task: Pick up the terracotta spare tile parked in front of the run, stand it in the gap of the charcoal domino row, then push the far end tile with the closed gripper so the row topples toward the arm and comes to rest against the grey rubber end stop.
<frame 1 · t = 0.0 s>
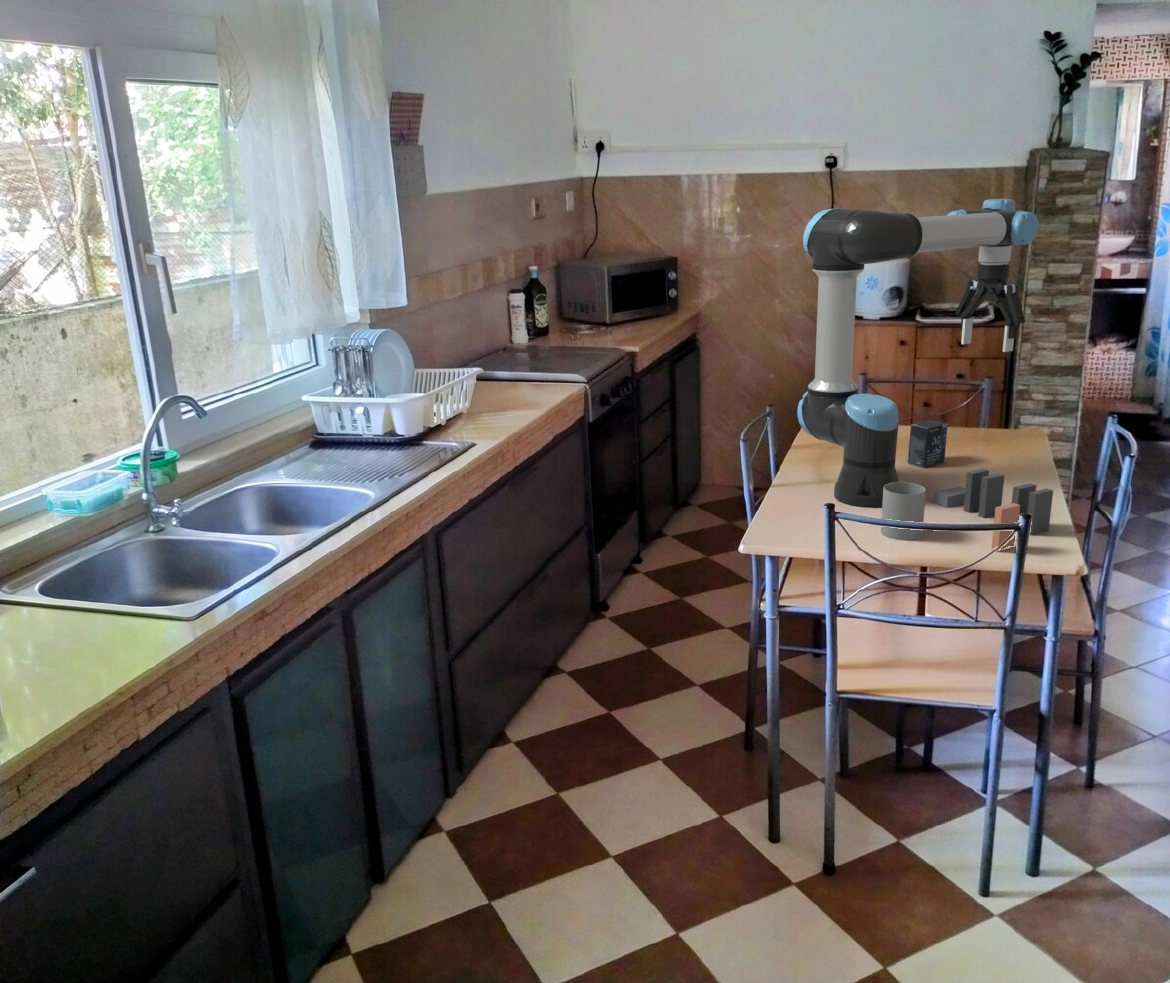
hand: (986, 347, 259), 28 cm above the table, fingers open, 13 cm apart
domino c: (989, 515, 221), on the table
domino b: (1020, 526, 214), on the table
domino a: (1036, 532, 211), on the table
cup: (901, 534, 213), on the table
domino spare: (1003, 548, 203), on the table
domino d: (974, 509, 225), on the table
end stop: (953, 501, 230), on the table
box: (926, 464, 260), on the table
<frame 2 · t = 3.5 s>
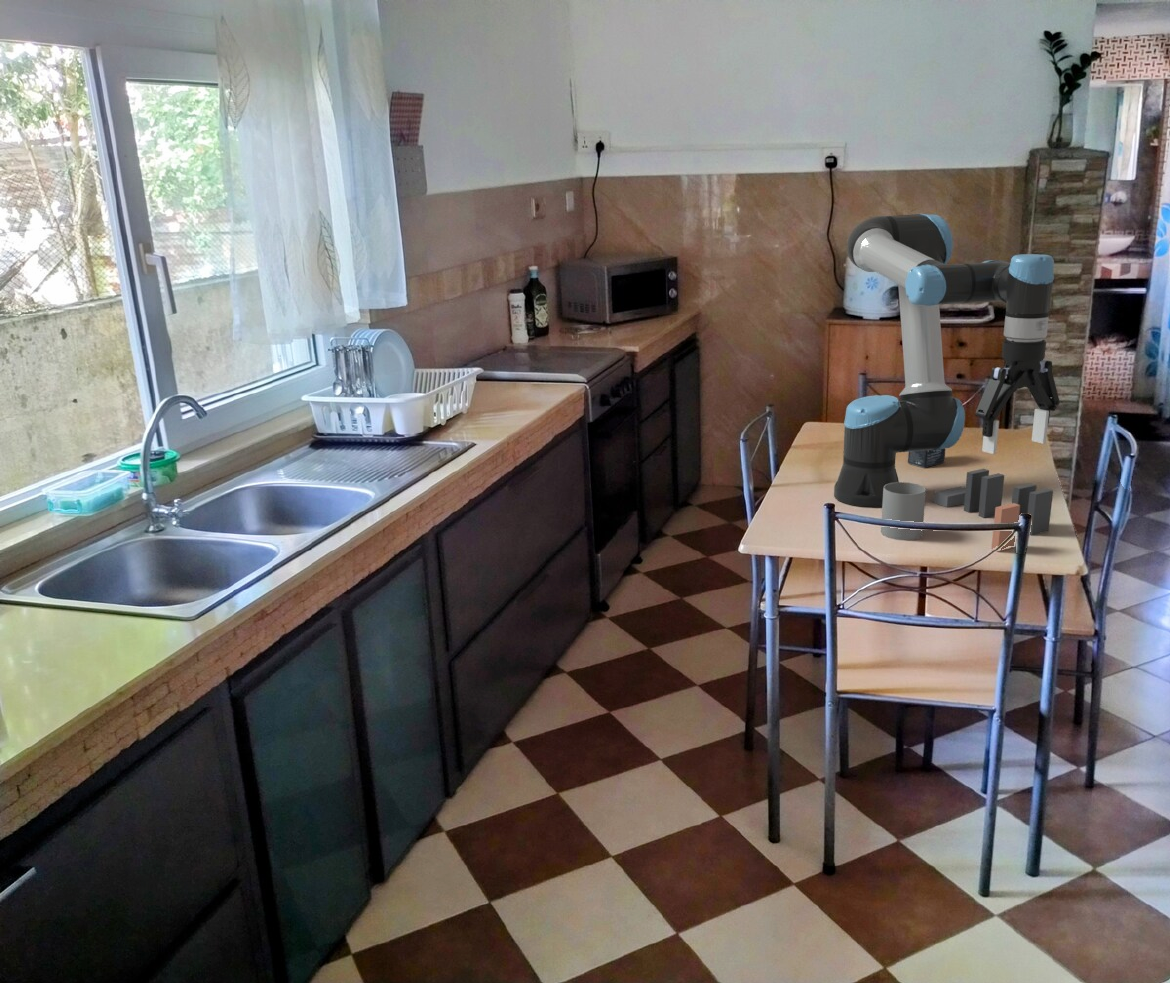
hand: (1014, 447, 197), 21 cm above the table, fingers open, 13 cm apart
nothing on the table moved.
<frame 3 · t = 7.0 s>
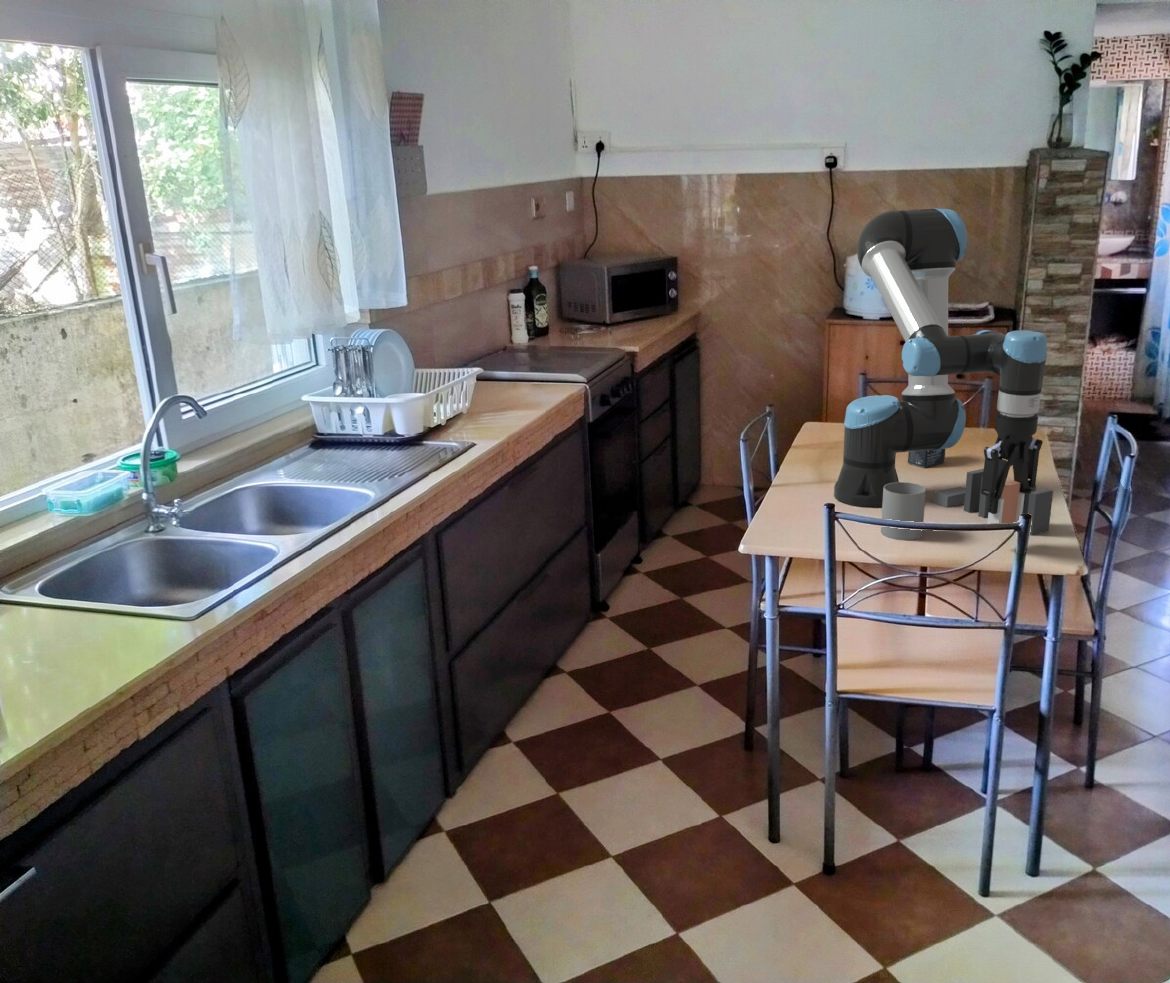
hand: (1004, 524, 202), 5 cm above the table, fingers closed on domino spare, 5 cm apart
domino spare: (1002, 526, 202), point 4 cm above the table, touching gripper
everything else where it was.
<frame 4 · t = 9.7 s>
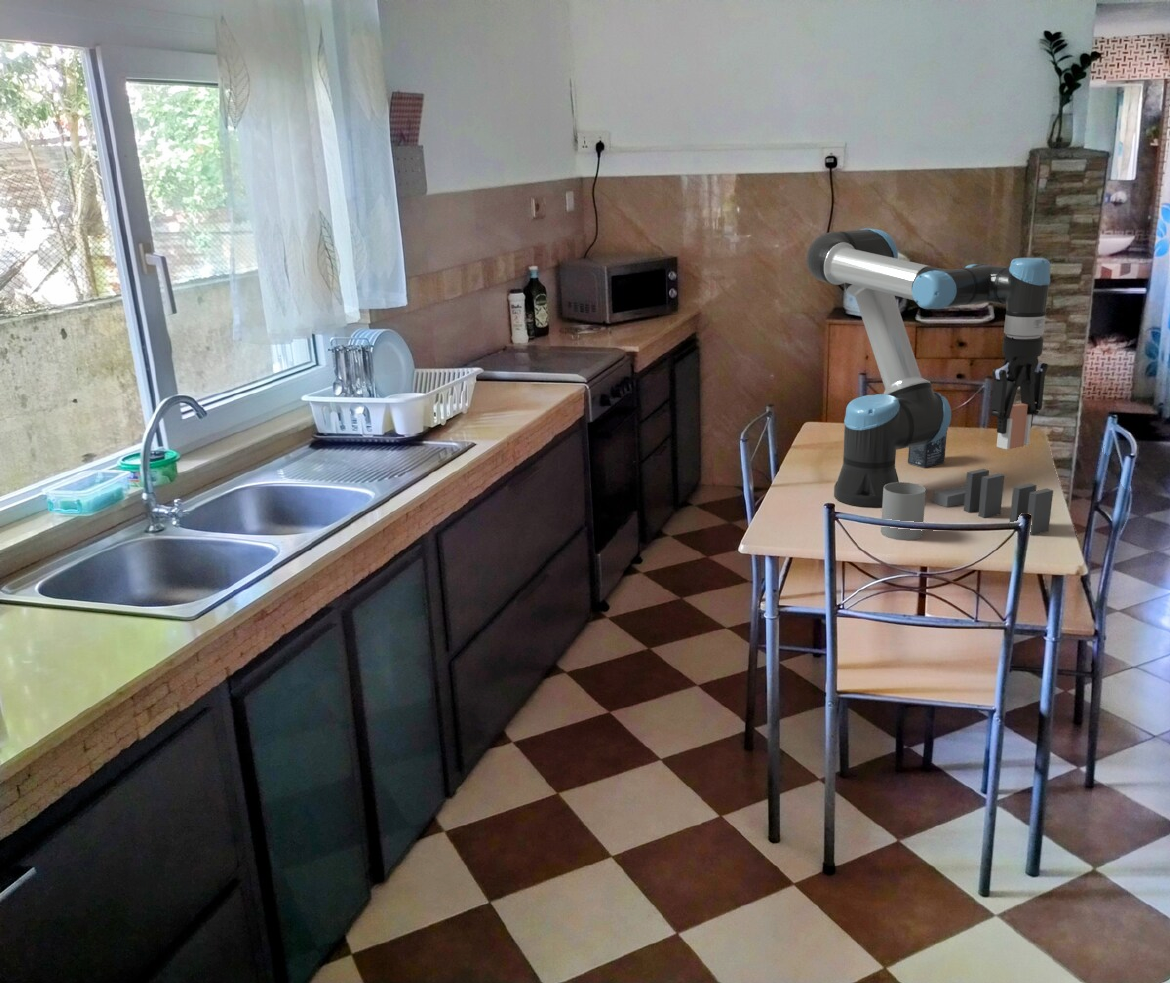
hand: (1012, 445, 213), 17 cm above the table, fingers closed on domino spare, 5 cm apart
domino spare: (1011, 446, 213), point 16 cm above the table, touching gripper
everything else where it was.
when the fingers open (1 cm above the table, at t = 12.7 s): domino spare stays where it is, on the table.
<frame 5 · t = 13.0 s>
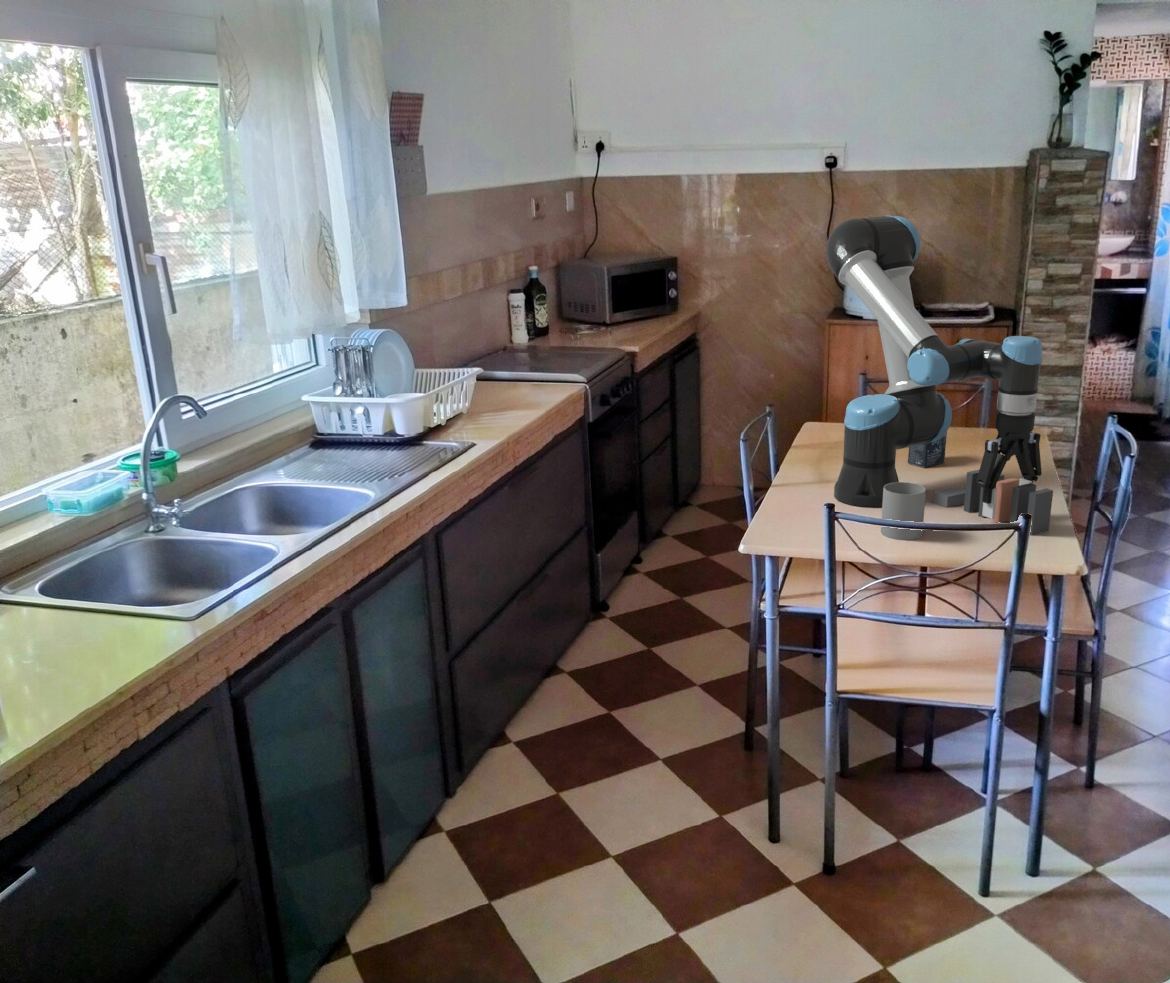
hand: (1005, 512, 217), 2 cm above the table, fingers open, 9 cm apart
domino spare: (1004, 520, 218), on the table
everything else where it was.
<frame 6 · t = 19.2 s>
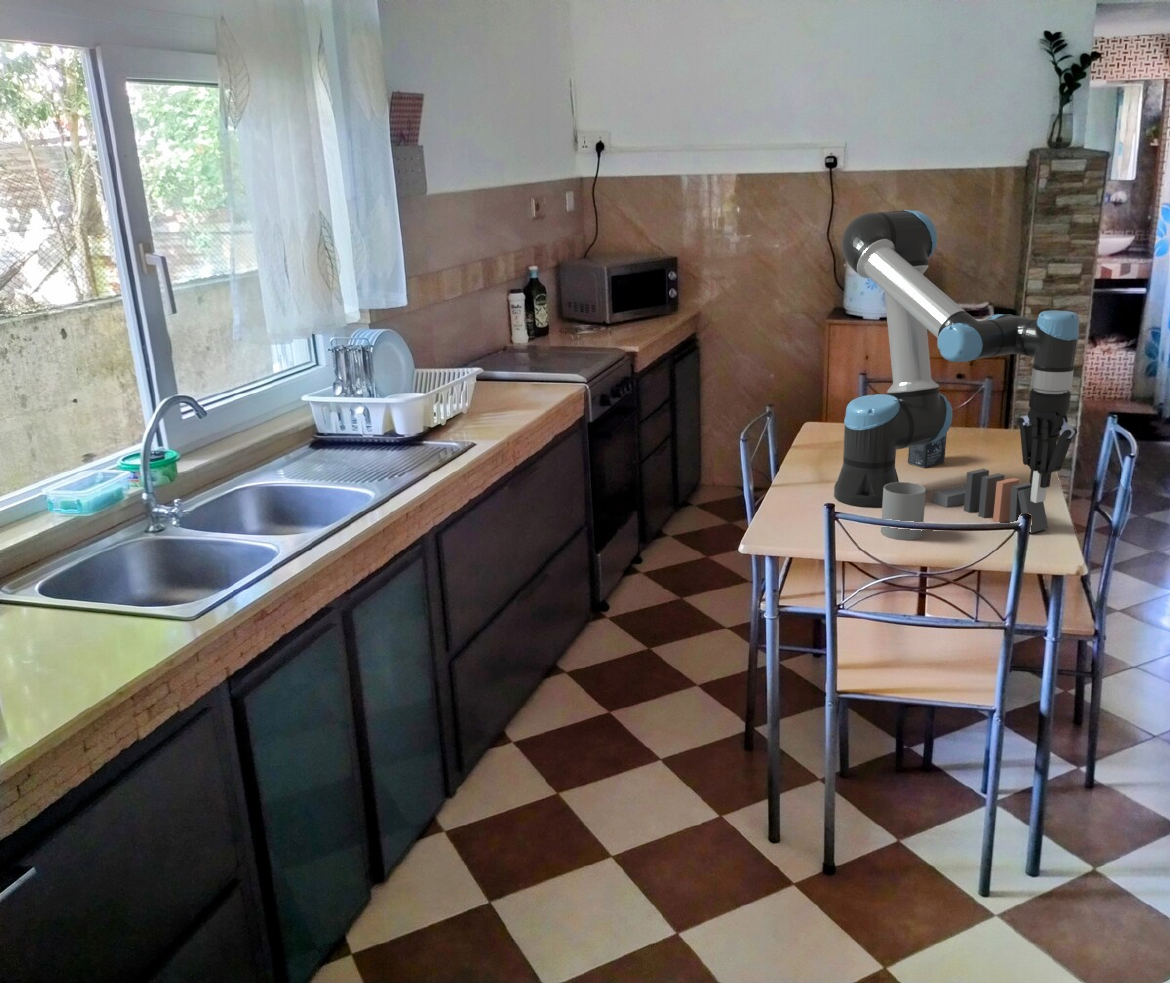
hand: (1037, 500, 209), 7 cm above the table, fingers closed
domino b: (1020, 526, 214), on the table, touching domino a
domino a: (1036, 530, 211), on the table, tilted 20°, touching domino b
everything else where it was.
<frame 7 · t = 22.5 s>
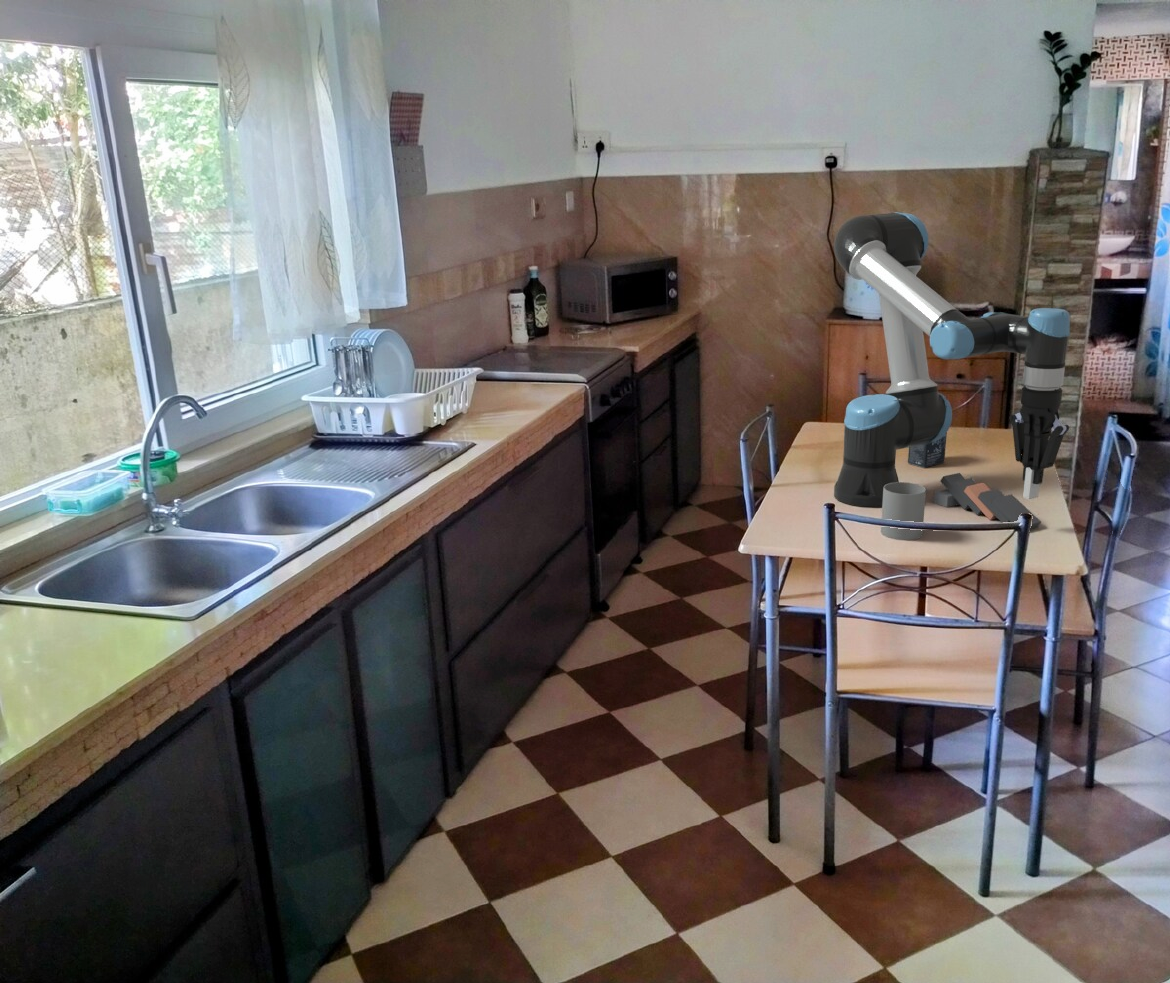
hand: (1030, 497, 211), 7 cm above the table, fingers closed
domino c: (987, 511, 222), point 1 cm above the table, tilted 59°, touching domino d, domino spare
domino b: (1015, 521, 215), point 1 cm above the table, tilted 63°, touching domino a, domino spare
domino a: (1031, 526, 212), point 1 cm above the table, tilted 65°, touching domino b
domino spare: (999, 515, 219), point 1 cm above the table, tilted 61°, touching domino b, domino c
domino d: (974, 505, 225), point 1 cm above the table, tilted 59°, touching domino c, end stop
everything else where it was.
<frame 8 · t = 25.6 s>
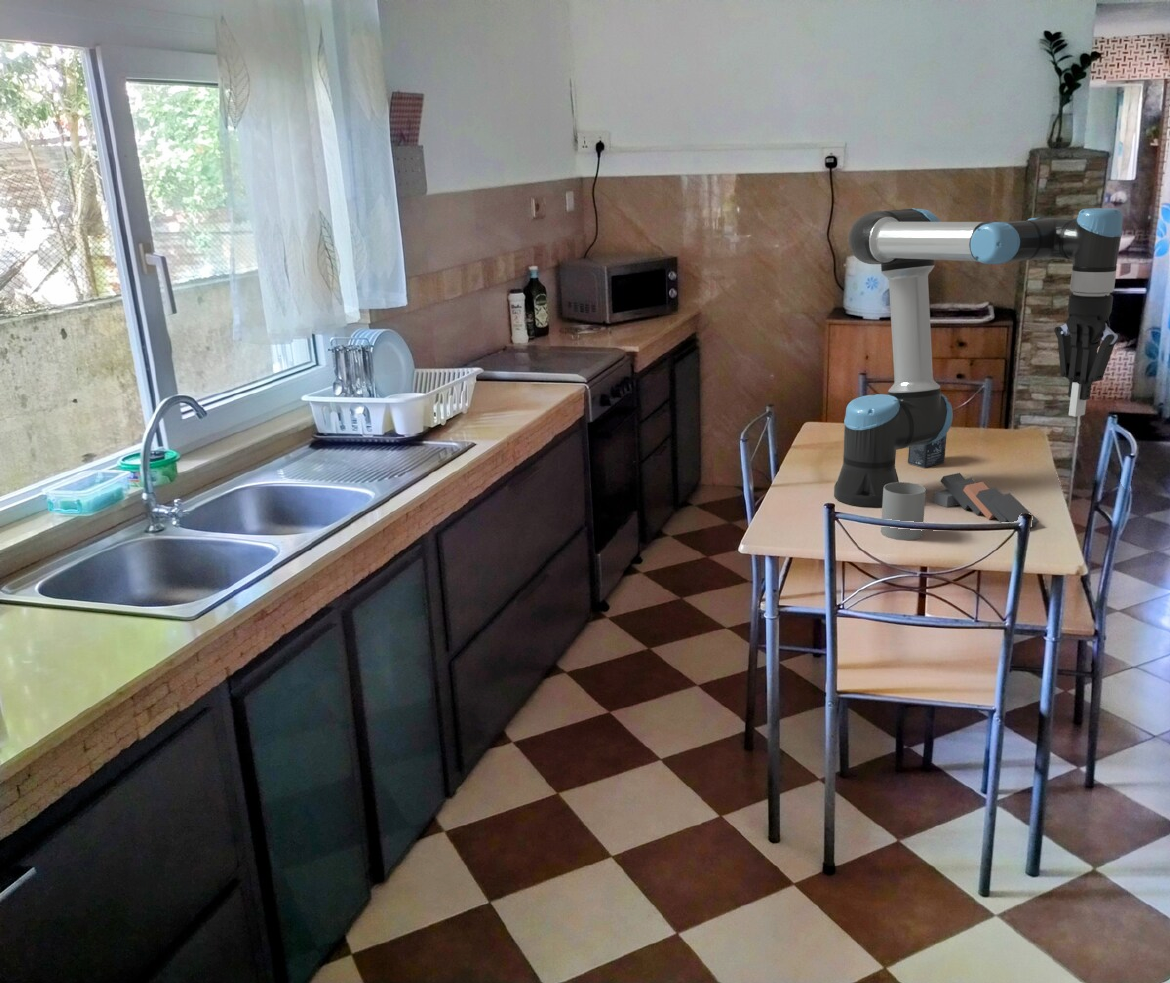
hand: (1076, 414, 197), 26 cm above the table, fingers closed
domino b: (1013, 520, 216), point 1 cm above the table, tilted 62°, touching domino a
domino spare: (998, 515, 219), point 1 cm above the table, tilted 59°, touching domino c
at the end: domino d tilted 59°; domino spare tilted 59°; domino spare inside the target area (1.8 cm from its centre), point 0.7 cm above the table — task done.
